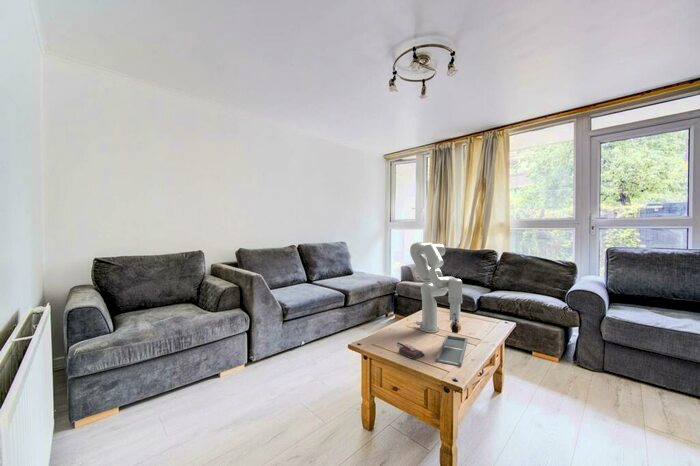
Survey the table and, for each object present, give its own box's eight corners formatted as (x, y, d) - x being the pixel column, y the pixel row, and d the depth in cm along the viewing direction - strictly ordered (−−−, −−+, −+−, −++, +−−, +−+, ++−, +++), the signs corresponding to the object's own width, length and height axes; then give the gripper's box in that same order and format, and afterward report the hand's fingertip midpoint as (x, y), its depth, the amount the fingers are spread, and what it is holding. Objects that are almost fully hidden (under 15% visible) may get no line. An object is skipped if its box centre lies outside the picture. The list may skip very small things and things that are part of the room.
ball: (449, 332, 166) (449, 322, 166) (451, 329, 171) (451, 319, 171) (460, 334, 163) (460, 323, 163) (461, 331, 168) (461, 320, 168)
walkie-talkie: (427, 356, 154) (398, 344, 169) (427, 348, 154) (398, 337, 169) (417, 361, 148) (388, 348, 164) (417, 353, 148) (388, 341, 164)
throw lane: (436, 361, 147) (436, 357, 147) (446, 337, 178) (446, 334, 178) (461, 366, 142) (461, 362, 142) (467, 341, 173) (467, 338, 173)
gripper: (450, 296, 176) (450, 325, 176) (446, 302, 161) (446, 334, 161) (463, 297, 173) (464, 327, 173) (460, 304, 157) (460, 336, 158)
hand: (455, 330), depth 167 cm, fingers closed on ball, 5 cm apart
